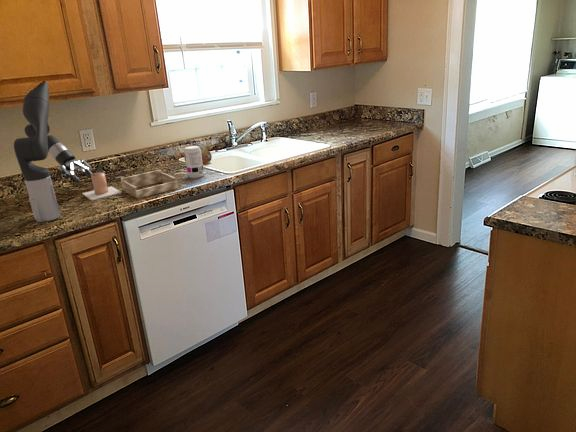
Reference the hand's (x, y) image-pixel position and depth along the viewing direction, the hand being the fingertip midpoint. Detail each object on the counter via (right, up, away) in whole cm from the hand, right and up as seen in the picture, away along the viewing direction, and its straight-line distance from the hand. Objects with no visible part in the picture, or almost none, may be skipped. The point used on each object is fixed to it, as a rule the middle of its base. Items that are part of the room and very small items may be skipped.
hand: (85, 179), depth 214 cm
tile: (+8, -7, -1) cm, 11 cm away
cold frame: (+30, -5, +1) cm, 31 cm away
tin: (+46, +11, +41) cm, 63 cm away
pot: (+8, -6, -1) cm, 10 cm away
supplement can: (+49, +3, +18) cm, 52 cm away
